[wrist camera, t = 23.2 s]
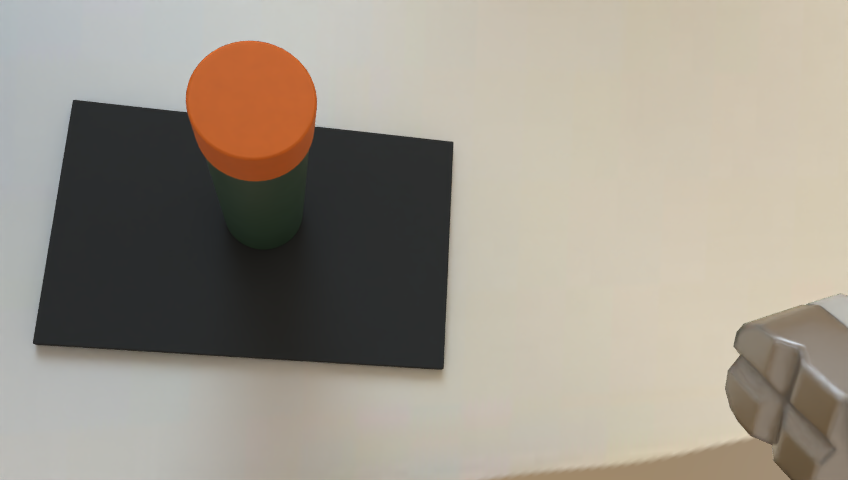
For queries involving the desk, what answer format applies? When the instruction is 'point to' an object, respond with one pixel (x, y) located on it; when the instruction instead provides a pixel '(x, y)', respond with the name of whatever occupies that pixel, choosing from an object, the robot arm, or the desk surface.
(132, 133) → the mat
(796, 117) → the desk surface
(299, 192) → the marker
